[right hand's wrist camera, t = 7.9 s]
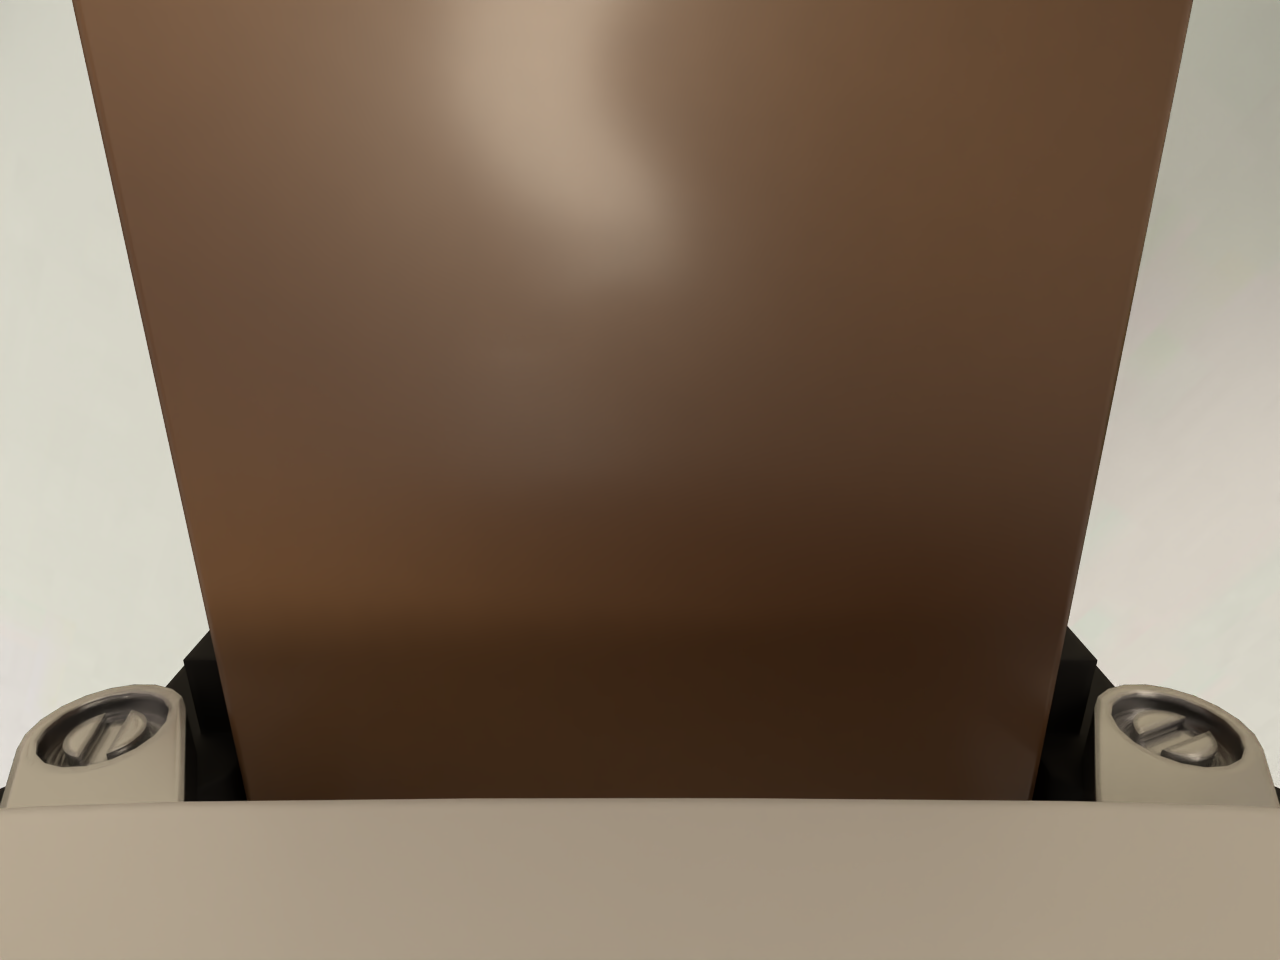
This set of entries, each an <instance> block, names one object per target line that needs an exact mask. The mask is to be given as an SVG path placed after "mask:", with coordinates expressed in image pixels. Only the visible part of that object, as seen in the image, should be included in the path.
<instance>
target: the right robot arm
mask: <svg viewBox="0 0 1280 960" xmlns="http://www.w3.org/2000/svg"><path fill="white" fill-rule="evenodd" d="M183 661H184V666H183V668H182V669H181V670H180V671H179V672H178V673H177V674H176V676H175V677H174V678H173V679H172V680H171V681H170V683H169V684H168V685H167V686H166V687H162V686H158V685H136V684H134V685H128V686H122V687H115V688H110V689H106V690H103V691H100V692H96V693H93V694H90V695H86V696H84V697H82V698H79V699H77V700H75V701H73V702H71V703H68V704H66V705H64V706H62V707H60V708H59V709H57V710H55V711H54V712H52V713H51V714H49V715H48V716H46V717H44V718H43V719H41V720H40V721H39V722H38V723H37V724H36V725H35V726H34V727H33V728H32V729H30V730H29V731H28V732H27V733H26V734H25V736H24V737H23V739H22V741H21V743H20V745H19V746H18V748H17V750H16V754H15V757H14V760H13V764H12V767H11V770H10V774H9V777H8V780H7V784H6V787H3V788H1V789H0V960H1280V789H1279V788H1277V787H1275V786H1274V784H1273V780H1272V777H1271V774H1270V770H1269V767H1268V764H1267V760H1266V757H1265V754H1264V750H1263V748H1262V746H1261V745H1260V743H1259V741H1258V739H1257V738H1256V736H1255V734H1254V733H1253V732H1252V731H1251V730H1249V729H1248V728H1247V727H1246V726H1245V725H1244V724H1243V723H1242V722H1241V721H1240V720H1239V719H1237V718H1236V717H1234V716H1232V715H1231V714H1229V713H1228V712H1226V711H1225V710H1223V709H1221V708H1220V707H1218V706H1216V705H1214V704H1212V703H1209V702H1207V701H1205V700H1203V699H1201V698H1198V697H1196V696H1194V695H1190V694H1187V693H1184V692H1180V691H1177V690H1174V689H1170V688H1165V687H1158V686H1152V685H1146V684H1144V685H1122V686H1118V687H1114V685H1113V684H1112V683H1111V682H1110V681H1109V680H1108V678H1107V677H1106V676H1105V675H1104V674H1103V673H1102V672H1101V670H1100V669H1099V668H1098V667H1097V666H1096V664H1097V659H1096V658H1095V657H1094V656H1093V655H1092V654H1091V652H1090V651H1089V650H1088V649H1087V648H1086V647H1085V646H1084V644H1083V643H1082V642H1081V641H1080V640H1079V639H1078V638H1077V637H1076V635H1075V634H1074V633H1073V632H1072V631H1071V630H1070V629H1069V627H1068V626H1067V629H1066V634H1065V639H1064V644H1063V649H1062V654H1061V659H1060V664H1059V669H1058V674H1057V679H1056V684H1055V689H1054V694H1053V699H1052V704H1051V709H1050V714H1049V719H1048V723H1047V728H1046V733H1045V738H1044V743H1043V748H1042V753H1041V758H1040V763H1039V768H1038V773H1037V778H1036V783H1035V788H1034V793H1033V798H1032V801H998V800H885V799H771V798H471V799H381V800H291V801H247V798H246V794H245V789H244V785H243V780H242V775H241V771H240V766H239V762H238V757H237V753H236V748H235V743H234V739H233V734H232V730H231V725H230V721H229V716H228V711H227V707H226V702H225V698H224V693H223V689H222V684H221V679H220V675H219V670H218V666H217V661H216V657H215V652H214V647H213V643H212V638H211V634H210V630H209V631H208V633H207V634H206V635H205V636H204V637H203V638H202V639H201V641H200V642H199V643H198V644H197V645H196V646H195V647H194V649H193V650H192V651H191V652H190V653H189V654H188V655H187V657H186V658H185V659H184V660H183Z"/></svg>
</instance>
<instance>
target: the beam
mask: <svg viewBox="0 0 1280 960" xmlns="http://www.w3.org/2000/svg"><path fill="white" fill-rule="evenodd" d="M72 3H73V7H74V12H75V16H76V21H77V25H78V30H79V35H80V39H81V44H82V48H83V53H84V57H85V62H86V67H87V71H88V76H89V80H90V85H91V89H92V94H93V99H94V103H95V108H96V112H97V117H98V121H99V126H100V131H101V135H102V140H103V144H104V149H105V153H106V158H107V163H108V167H109V172H110V176H111V181H112V185H113V190H114V195H115V199H116V204H117V208H118V213H119V217H120V222H121V227H122V231H123V236H124V240H125V245H126V249H127V254H128V259H129V263H130V268H131V272H132V277H133V282H134V286H135V291H136V295H137V300H138V304H139V309H140V314H141V318H142V323H143V327H144V332H145V336H146V341H147V346H148V350H149V355H150V359H151V364H152V368H153V373H154V378H155V382H156V387H157V391H158V396H159V400H160V405H161V410H162V414H163V419H164V423H165V428H166V432H167V437H168V442H169V446H170V451H171V455H172V460H173V464H174V469H175V474H176V478H177V483H178V487H179V492H180V496H181V501H182V506H183V510H184V515H185V519H186V524H187V528H188V533H189V538H190V542H191V547H192V551H193V556H194V560H195V565H196V570H197V574H198V579H199V583H200V588H201V592H202V597H203V602H204V606H205V611H206V615H207V620H208V624H209V629H210V634H211V638H212V643H213V647H214V652H215V657H216V661H217V666H218V670H219V675H220V679H221V684H222V689H223V693H224V698H225V702H226V707H227V711H228V716H229V721H230V725H231V730H232V734H233V739H234V743H235V748H236V753H237V757H238V762H239V766H240V771H241V775H242V780H243V785H244V789H245V794H246V798H247V801H291V800H381V799H471V798H771V799H885V800H998V801H1032V798H1033V793H1034V788H1035V783H1036V778H1037V773H1038V768H1039V763H1040V758H1041V753H1042V748H1043V743H1044V738H1045V733H1046V728H1047V723H1048V719H1049V714H1050V709H1051V704H1052V699H1053V694H1054V689H1055V684H1056V679H1057V674H1058V669H1059V664H1060V659H1061V654H1062V649H1063V644H1064V639H1065V634H1066V629H1067V624H1068V619H1069V614H1070V609H1071V604H1072V599H1073V594H1074V589H1075V584H1076V579H1077V574H1078V569H1079V564H1080V560H1081V555H1082V550H1083V545H1084V540H1085V535H1086V530H1087V525H1088V520H1089V515H1090V510H1091V505H1092V500H1093V495H1094V490H1095V485H1096V480H1097V475H1098V470H1099V465H1100V460H1101V455H1102V450H1103V445H1104V440H1105V435H1106V430H1107V425H1108V420H1109V415H1110V410H1111V405H1112V400H1113V396H1114V391H1115V386H1116V381H1117V376H1118V371H1119V366H1120V361H1121V356H1122V351H1123V346H1124V341H1125V336H1126V331H1127V326H1128V321H1129V316H1130V311H1131V306H1132V301H1133V296H1134V291H1135V286H1136V281H1137V276H1138V271H1139V266H1140V261H1141V256H1142V251H1143V246H1144V241H1145V236H1146V232H1147V227H1148V222H1149V217H1150V212H1151V207H1152V202H1153V197H1154V192H1155V187H1156V182H1157V177H1158V172H1159V167H1160V162H1161V157H1162V152H1163V147H1164V142H1165V137H1166V132H1167V127H1168V122H1169V117H1170V112H1171V107H1172V102H1173V97H1174V92H1175V87H1176V82H1177V77H1178V73H1179V68H1180V63H1181V58H1182V53H1183V48H1184V43H1185V38H1186V33H1187V28H1188V23H1189V18H1190V13H1191V8H1192V3H1193V0H72Z"/></svg>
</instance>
